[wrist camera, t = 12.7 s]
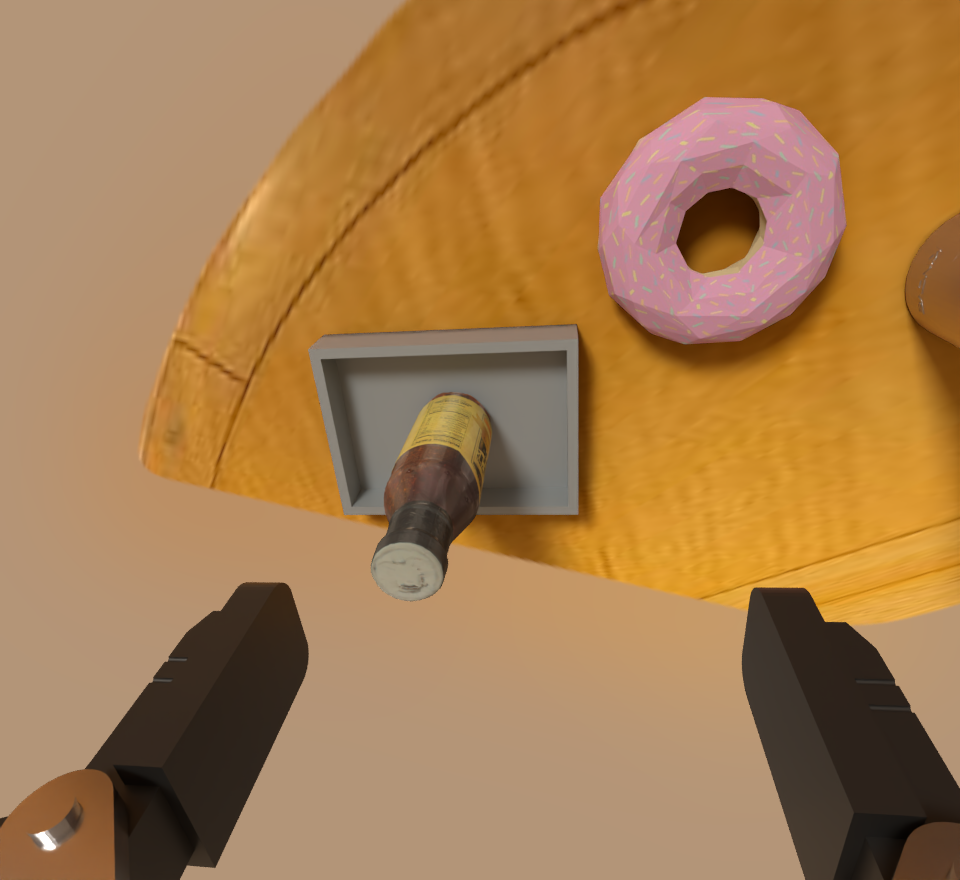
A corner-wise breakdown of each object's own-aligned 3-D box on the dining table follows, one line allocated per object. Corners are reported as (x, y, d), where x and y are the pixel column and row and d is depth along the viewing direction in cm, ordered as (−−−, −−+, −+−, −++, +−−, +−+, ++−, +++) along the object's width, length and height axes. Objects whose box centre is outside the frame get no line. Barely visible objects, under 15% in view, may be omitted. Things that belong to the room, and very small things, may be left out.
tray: (576, 324, 45) (578, 339, 42) (576, 491, 52) (578, 514, 49) (323, 334, 48) (308, 349, 45) (356, 492, 55) (344, 514, 52)
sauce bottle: (475, 465, 51) (434, 641, 34) (408, 435, 51) (331, 599, 33) (508, 403, 48) (482, 562, 31) (438, 370, 48) (370, 514, 30)
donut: (602, 102, 39) (609, 99, 34) (853, 91, 37) (894, 88, 33) (590, 334, 46) (594, 356, 41) (799, 334, 44) (826, 358, 40)
